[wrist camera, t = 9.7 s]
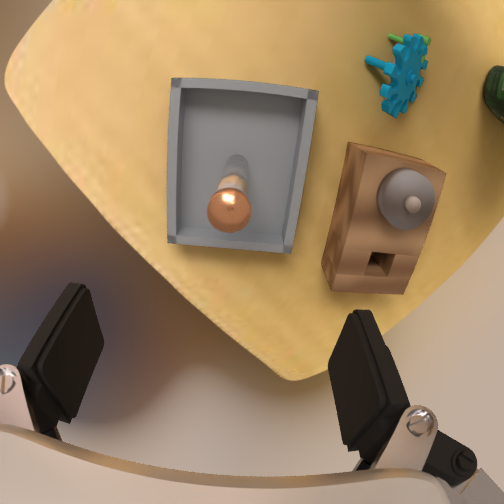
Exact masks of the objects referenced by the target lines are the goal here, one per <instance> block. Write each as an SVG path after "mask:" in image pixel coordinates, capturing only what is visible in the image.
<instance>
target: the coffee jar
mask: <svg viewBox="0 0 504 504" xmlns="http://www.w3.org/2000/svg"><path fill="white" fill-rule="evenodd" d="M484 94H485V101H486V104H487V106H488V107H489V109H490V110H491V111H492V112H493V113H494V115H495V116H496V117H497V118H498V119H499V120H500V121H501V122H502V123H504V66H494V67H493V68H492V69H491V70H490V72H489V74H488V76H487V79H486V83H485V90H484Z"/></svg>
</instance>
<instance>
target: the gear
mask: <svg viewBox="0 0 504 504" xmlns="http://www.w3.org/2000/svg"><path fill="white" fill-rule="evenodd" d="M388 38H389V39H391V40H393V41H396V42H399V43H401V44H403V45H401V44H399V43H398V44H396V45H395V46H394V47H393V54H394V56H395V59H394V60H393V62H392V63H390V62H388V63H386V62H384V61H382V60H379V59H376V58H374V57H371V56H369V55H368V56H366V58H365V63H366V64H369V65H372V66H374V67H376V68H379V69H381V70H384V74H386V75H388V76H390V78H391V83H390V86H389V85H387V84H385V83H384V84H382V86H381V89H380V95H381V96H383V97H385V98H387V99H385V100H384V101H383V102H382V111H384V112H386V113H388V114H389V115H391V116H393V117H395V118H397V117H398V115H399V112H401V113H405V112H406V111H407V109H408V102H411V103H413V102H414V100H415V99H416V96H417V95H416V86H418V87H421V85H422V83H423V81H424V78H423V77H421V76H420V69H423V70H426V67H427V63H428V61H427V60H425V56H424V55H426V54H427V46H429V44H430V41H431V39H430V38H429V37H426V36H424V35H421V34H414V35H413V36H411V35H408V34H405V35H404V38H401V37H399V36H396V35H393V34H389V36H388Z"/></svg>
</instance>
